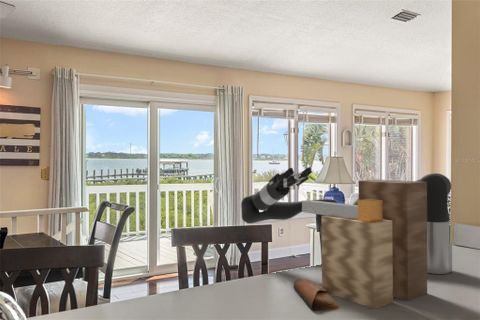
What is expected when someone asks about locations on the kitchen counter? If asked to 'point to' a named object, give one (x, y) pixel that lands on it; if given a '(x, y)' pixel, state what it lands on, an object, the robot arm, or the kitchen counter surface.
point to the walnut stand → (404, 231)
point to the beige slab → (358, 260)
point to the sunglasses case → (315, 295)
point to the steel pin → (347, 209)
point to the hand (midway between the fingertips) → (301, 169)
